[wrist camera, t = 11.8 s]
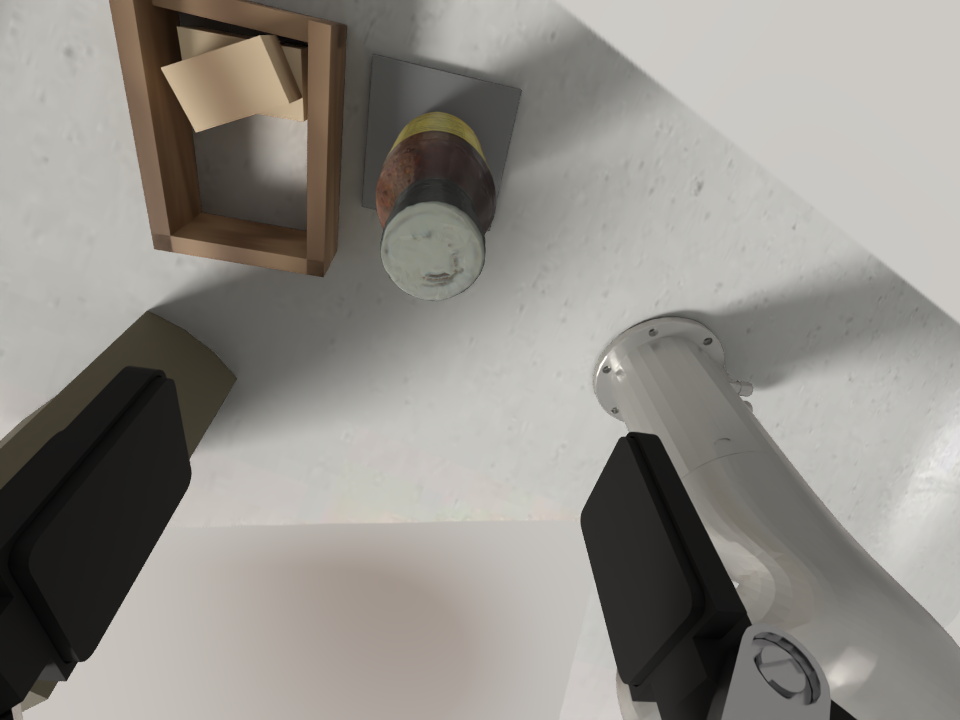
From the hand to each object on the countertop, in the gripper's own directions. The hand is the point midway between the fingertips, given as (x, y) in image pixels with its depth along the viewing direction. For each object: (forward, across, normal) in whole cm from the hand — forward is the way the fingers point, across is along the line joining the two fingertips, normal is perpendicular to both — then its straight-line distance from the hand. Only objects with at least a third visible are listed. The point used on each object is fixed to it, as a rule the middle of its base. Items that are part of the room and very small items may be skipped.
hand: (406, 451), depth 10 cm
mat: (+30, 0, 0) cm, 30 cm away
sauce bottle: (+30, 0, 0) cm, 30 cm away
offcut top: (+27, +12, -2) cm, 30 cm away
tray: (+30, +13, +1) cm, 33 cm away
